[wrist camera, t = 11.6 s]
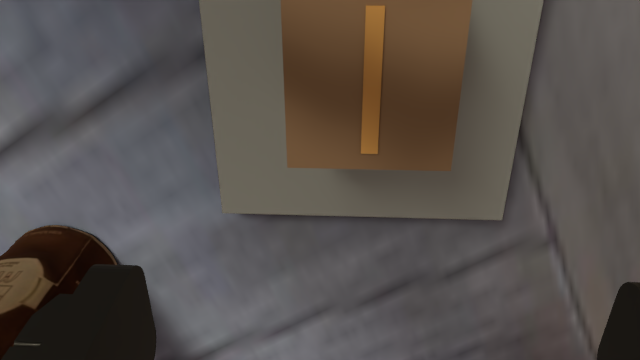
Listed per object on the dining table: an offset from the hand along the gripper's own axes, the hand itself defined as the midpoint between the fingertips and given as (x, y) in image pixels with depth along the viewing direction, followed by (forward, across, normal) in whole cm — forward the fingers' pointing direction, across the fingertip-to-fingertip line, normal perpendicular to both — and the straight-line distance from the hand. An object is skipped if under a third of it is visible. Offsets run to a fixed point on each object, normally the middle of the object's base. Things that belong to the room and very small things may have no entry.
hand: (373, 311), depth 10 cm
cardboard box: (+16, 0, 0) cm, 16 cm away
